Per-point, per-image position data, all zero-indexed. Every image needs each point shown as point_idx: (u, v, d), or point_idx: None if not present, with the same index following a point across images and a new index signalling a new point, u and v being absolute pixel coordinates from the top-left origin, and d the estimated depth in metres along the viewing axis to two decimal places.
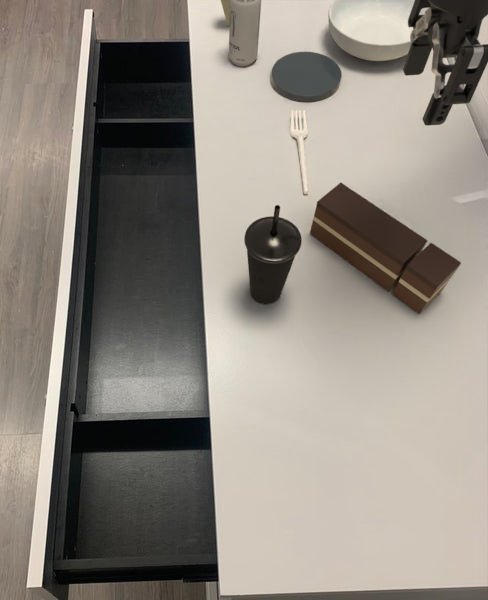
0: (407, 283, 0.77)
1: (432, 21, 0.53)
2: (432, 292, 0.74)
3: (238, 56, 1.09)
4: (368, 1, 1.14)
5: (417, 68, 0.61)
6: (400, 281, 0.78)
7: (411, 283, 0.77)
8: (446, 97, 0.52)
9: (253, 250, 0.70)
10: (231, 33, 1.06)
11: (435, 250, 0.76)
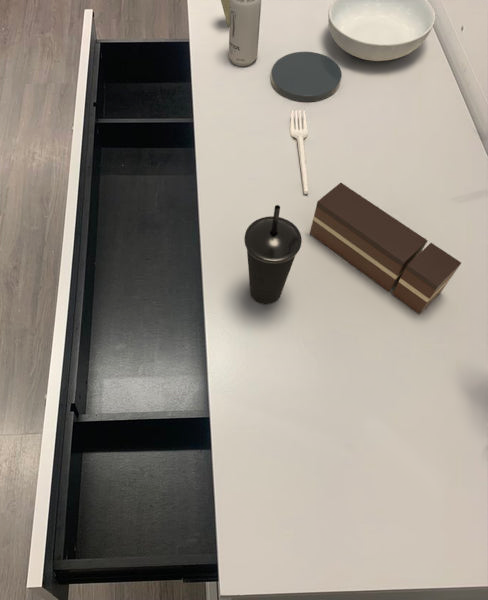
0: (407, 283, 0.77)
1: None
2: (432, 292, 0.74)
3: (238, 56, 1.09)
4: (368, 1, 1.14)
5: None
6: (400, 281, 0.78)
7: (411, 283, 0.77)
8: None
9: (253, 250, 0.70)
10: (231, 33, 1.06)
11: (435, 250, 0.76)
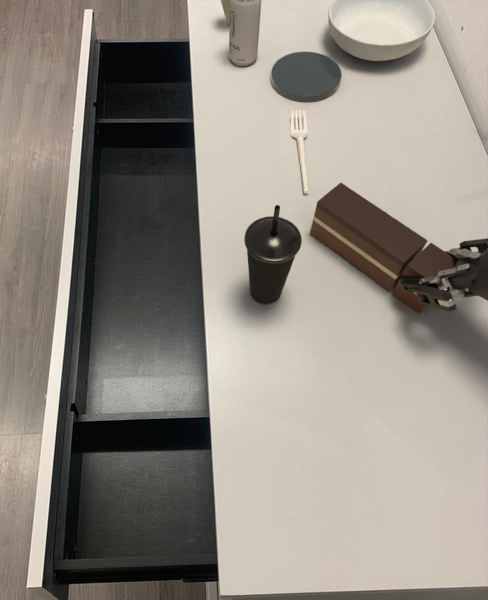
0: None
1: (472, 260, 0.70)
2: None
3: (238, 56, 1.09)
4: (368, 1, 1.14)
5: None
6: None
7: None
8: (419, 289, 0.72)
9: (253, 250, 0.70)
10: (231, 33, 1.06)
11: (435, 250, 0.76)
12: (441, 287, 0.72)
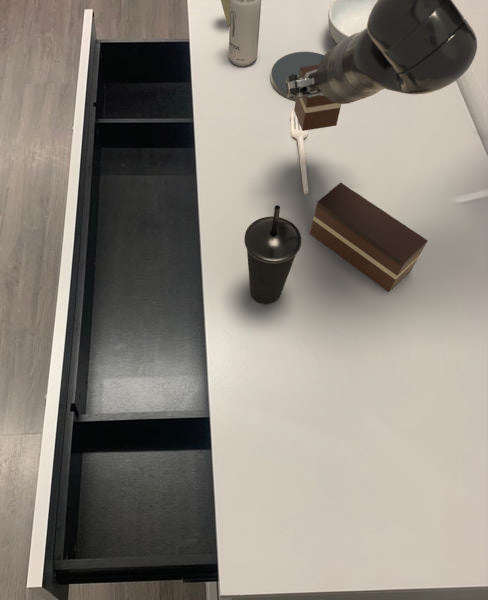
0: None
1: None
2: (307, 98, 0.79)
3: (238, 56, 1.09)
4: (368, 1, 1.14)
5: None
6: None
7: None
8: None
9: (253, 250, 0.70)
10: (231, 33, 1.06)
11: None
12: (307, 86, 0.77)
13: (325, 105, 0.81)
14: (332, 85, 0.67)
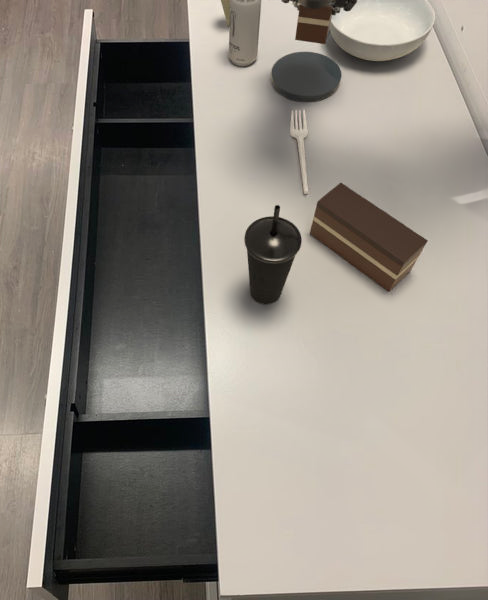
0: None
1: None
2: (299, 7, 0.94)
3: (238, 56, 1.09)
4: (368, 1, 1.14)
5: None
6: None
7: None
8: None
9: (253, 250, 0.70)
10: (231, 33, 1.06)
11: None
12: None
13: (314, 19, 0.95)
14: None
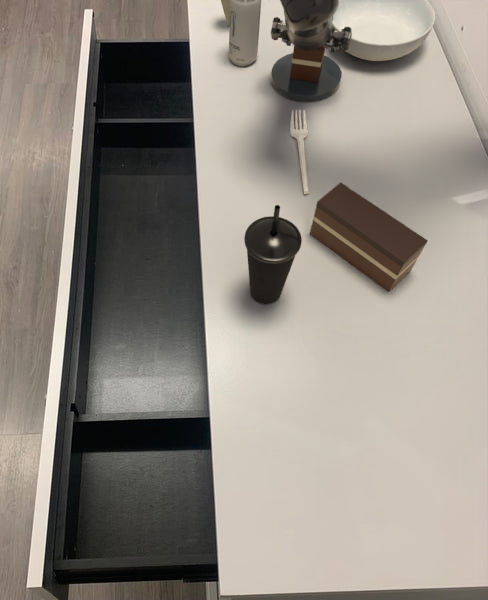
0: None
1: None
2: (293, 50, 1.01)
3: (238, 56, 1.09)
4: (368, 1, 1.14)
5: None
6: None
7: None
8: None
9: (253, 250, 0.70)
10: (231, 33, 1.06)
11: None
12: None
13: (307, 61, 1.02)
14: None
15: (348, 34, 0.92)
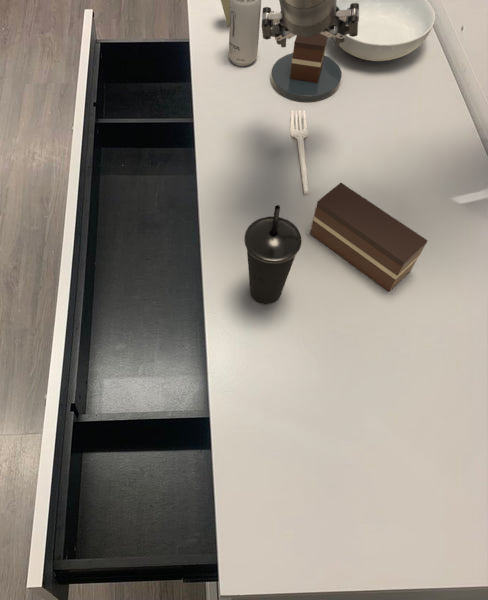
0: None
1: None
2: (293, 50, 1.01)
3: (238, 56, 1.09)
4: (368, 1, 1.14)
5: None
6: None
7: None
8: None
9: (253, 250, 0.70)
10: (231, 33, 1.06)
11: None
12: (283, 26, 0.81)
13: (307, 61, 1.02)
14: (281, 8, 0.71)
15: (356, 11, 0.75)
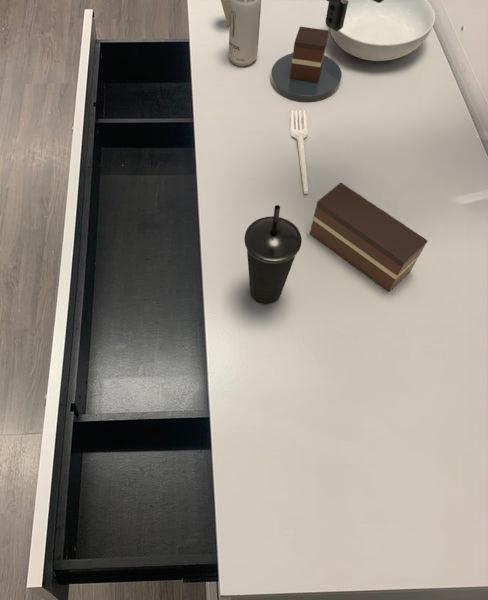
0: None
1: None
2: (293, 50, 1.01)
3: (238, 56, 1.09)
4: (368, 1, 1.14)
5: None
6: None
7: None
8: None
9: (253, 250, 0.70)
10: (231, 33, 1.06)
11: (323, 33, 1.00)
12: None
13: (307, 61, 1.02)
14: None
15: None
